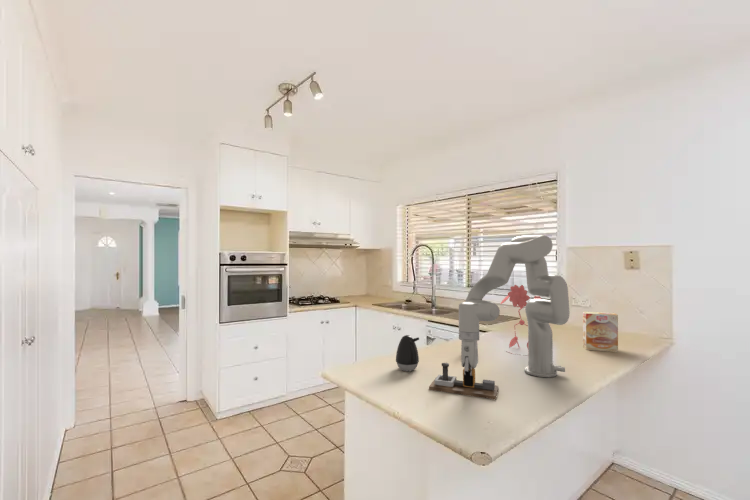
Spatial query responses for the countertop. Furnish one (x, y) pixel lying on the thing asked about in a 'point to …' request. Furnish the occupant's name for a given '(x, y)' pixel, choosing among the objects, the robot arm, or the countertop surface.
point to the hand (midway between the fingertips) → (469, 383)
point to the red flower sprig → (518, 297)
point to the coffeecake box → (600, 331)
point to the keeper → (463, 388)
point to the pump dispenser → (407, 353)
